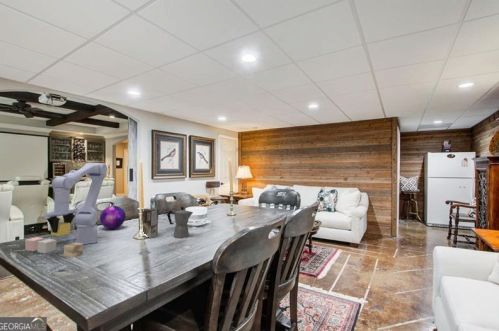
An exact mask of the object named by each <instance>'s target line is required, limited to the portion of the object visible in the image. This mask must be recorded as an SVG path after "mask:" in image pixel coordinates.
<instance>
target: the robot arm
mask: <svg viewBox="0 0 499 331" xmlns="http://www.w3.org/2000/svg"><path fill="white" fill-rule="evenodd" d="M107 173H108V166H107V165H106V163H105V162H102V163H100V162H87V163H85V164H84V165H83V166H82V167H80V168H79V169H78V170H75V169H74V170H70V171H69V172H68V173H65V174H63V175H62V176H57V177H55V178H53V180H52V182H51V187H52V189H53V193H54V201H53V203H54V205H53V206H54V208H53V211H52V212H48V213H44V214H43V219H45V220H47V222H48V223H49V224H48V225H50V228H51V229H52V232H53V233H57V231H58V223H60V220H61V218H60V217H62V218H63V222H66V223H70V225H71V224H72V222H73V225H75V227H76V240H75V242H74V243H80V244H83V245H88V244H96V243H98V224H96V223H98V222H97V221H98V214H99V213H98V210H96V209H95V208H96V204H97V201H98V199H99V195H100V191H101V189H102V185H103V182H104V180H105V179H106V176H107ZM86 175H87V177H88V178H89V179H90V180H91V184H90V186H89V189H88V193H87V195H86V197H85V198H86V199H85V200H84V204H83V207H81V208H79V209H76V208H73V209H70V197H71V195H70V194H71V190H72V189H73V186H74V185H75V184H76V183H78V182H79V181H81V180H82V178H83V176H86Z"/></svg>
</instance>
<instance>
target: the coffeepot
mask: <svg viewBox="0 0 499 331" xmlns="http://www.w3.org/2000/svg"><path fill="white" fill-rule="evenodd" d="M192 214H194V212H193V211H189V210H184V206H180V210H179V209H178V210H169V211H168V212H167V213H166V216H167V218H168V222H169V225H174V222H172V218H171V215H174V221H175V227H174V232H173V237H174V238H175V239H184V238H183V237H186V238H188V237H189V236H190V233H189V227H188V223H189V220H190V217H191V216H192ZM187 236H188V237H187Z"/></svg>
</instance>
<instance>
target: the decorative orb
mask: <svg viewBox="0 0 499 331" xmlns="http://www.w3.org/2000/svg"><path fill="white" fill-rule="evenodd" d="M126 218H127V217H126V212H125V210H124V209H123V208H122V207H120V206H117V205H110V206H108V207H105V209H103V210H102V211H101V213H100V215H99V221H100V225H102V227H104V228H105V229H108V230H113V229H114V230H115V229H118V228H120V227H121V226H122V225H123V224H124V223H125V220H126Z"/></svg>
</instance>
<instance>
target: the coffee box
mask: <svg viewBox="0 0 499 331" xmlns="http://www.w3.org/2000/svg"><path fill="white" fill-rule="evenodd" d="M138 221H139V222H138V224H139V225H138V227H139V228H138V231H139V230H140V219H138ZM142 221H143V232H144V234H146V235H147V236H148V237H149V238H148V239H153V238H156V237H158V235H159V234H158V231H159V230H158V229H159V209H156V208H155V209H154V208H144V211H143V212H142Z"/></svg>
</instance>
